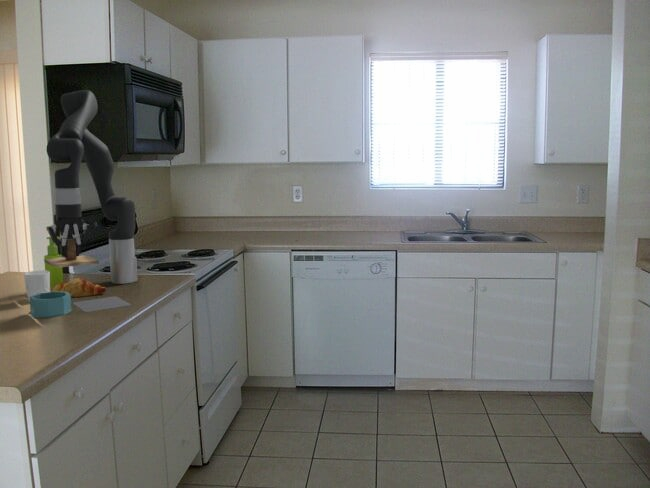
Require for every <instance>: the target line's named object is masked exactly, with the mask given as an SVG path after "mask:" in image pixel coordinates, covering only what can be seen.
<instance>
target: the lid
mask: <svg viewBox="0 0 650 488" xmlns="http://www.w3.org/2000/svg"><path fill="white" fill-rule="evenodd" d="M65 246H66V248H67V257H65V258H64V257H63V256H62V257H60V258H49V259H43V261H44V262H43V263H44V264H45V263H47V264H49V265H51V266H53V267H55V268H59V267H62V268H66V267H76V266H77V267H78V266H87V265H88V266H89V265H97V264H98V265H99V264H100V263H99V262H100V260H99V259H96V258H94V257H91V256H88V255H85V254H84V255H79V256H76V239H74V238H67V239H66V244H65Z"/></svg>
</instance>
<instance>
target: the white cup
mask: <svg viewBox="0 0 650 488" xmlns="http://www.w3.org/2000/svg"><path fill="white" fill-rule="evenodd" d="M23 275H24V283H25V284H24V285H25V290H26V295H27V301H28V302H30V296H33V295H35V294H38V293H44V292H50V271H45V269H44V270H39V269H38V270H30V271H27V272H25V273H24V274H23Z"/></svg>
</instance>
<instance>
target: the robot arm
mask: <svg viewBox="0 0 650 488" xmlns="http://www.w3.org/2000/svg"><path fill="white" fill-rule="evenodd" d="M60 103H61V108H62V110H63V112H64V115H65V117H66V118H65V120H64V121H63V122H62V123H61V125H60V129H59V131H57V132H56V133H55V134H54V135H53V136H52V137H50V139H49V140H48V142H47V145H46V153H47V154H46V155H47V156H48V158H49V159H51V160H52V161H54V162H70V165H69V166H68V167H65V168H60V169H57V170H56V169H55V171H54V190H55V191H54V204H55V206H54V208H55V221H54V224H51V225H50V226H46V227H45V228H46V231H47V233H48V235H49V237H51V239H52V241H53V242H54V243H55V245H57V246H59V251H60V255H62V257H64V258H65V257H67V248H66V246H65V244H66V239H68V236H69V235H72V239H76V256H80V255H81V254H82V251H81V248H82V247H81V245H82V244H83V243H87V240H88V238H89V235H90V233H91V230H92V224H89V223H85V222H84V221H83V217H82V214H83V213H82V198H81V197H82V195H81V190H80V169H81V164H82V160H83V159H84V162H85V164H86V167H87V170H88V171H89V173H90V176H91V178H92V182H93V184H94V186H95V189H96V193H97V197H98V201H99V204H100V208H101V211H102V214H103V215H104V217H105V219H107V220H108V221H109V220H110V221H113V222H114V221H115V222H117V226H116V228H115V229H112V230H110V231H109V232H108V246H109V267H110V270H109V271H110V282H111V283H112V284H116V285H117V284H118V285H121V284H122V285H123V284H131V283H135V282H138V265H137V264H138V262H137V261H138V260H137V256H136V255H135V239H134V237H135V235H134V234H135V230H136V207H135V203H134V201H133V199H131V198H130V197H126V196H124V197H120V196H116V195H115V192H114V190H113V187H112V179H113V174H114V170H115V164H114V160H113V158H112V155H111V153H110V149H109V148H108V146H107V145H106V144H105V143H104V142H103V141H101V140H100V139H99V138H98V137H96V136H95V135H94V134H93V133H91V132H90V131H89V129H88V126H89V124H90V123H91V122H92V120H93V119H94V117H95V116H96V115H97V113H98V108H99V107H98V106H99V105H98V101H97V98H96V96H95V94H94V93H93V92H92V91H91V90H89V89H82V90H77V91H72V92H67V93H64V94H62V95H61V97H60ZM81 228H82V230H83V232H82V234H80V232H79V231H80V230H81ZM57 230H58V231H59V232H60V233H59V237H60V240H58V238H57V237H58V236H57V234H56V233H55V232H56V231H57ZM80 235H81V237H80Z"/></svg>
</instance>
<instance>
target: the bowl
mask: <svg viewBox="0 0 650 488" xmlns="http://www.w3.org/2000/svg"><path fill="white" fill-rule="evenodd" d="M29 306H30V307H29V308H30V316H31V317H32V318H34V319H35V320H36V319H37V318H38V317H39V318H53V317H59V316H65V315H66V314H68V313H70V312H72V311H73V309H72V297H71V294H69V293H68V292H59V291H52V292H44V293H38V294H35V295H33V296H30V301H29Z"/></svg>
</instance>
